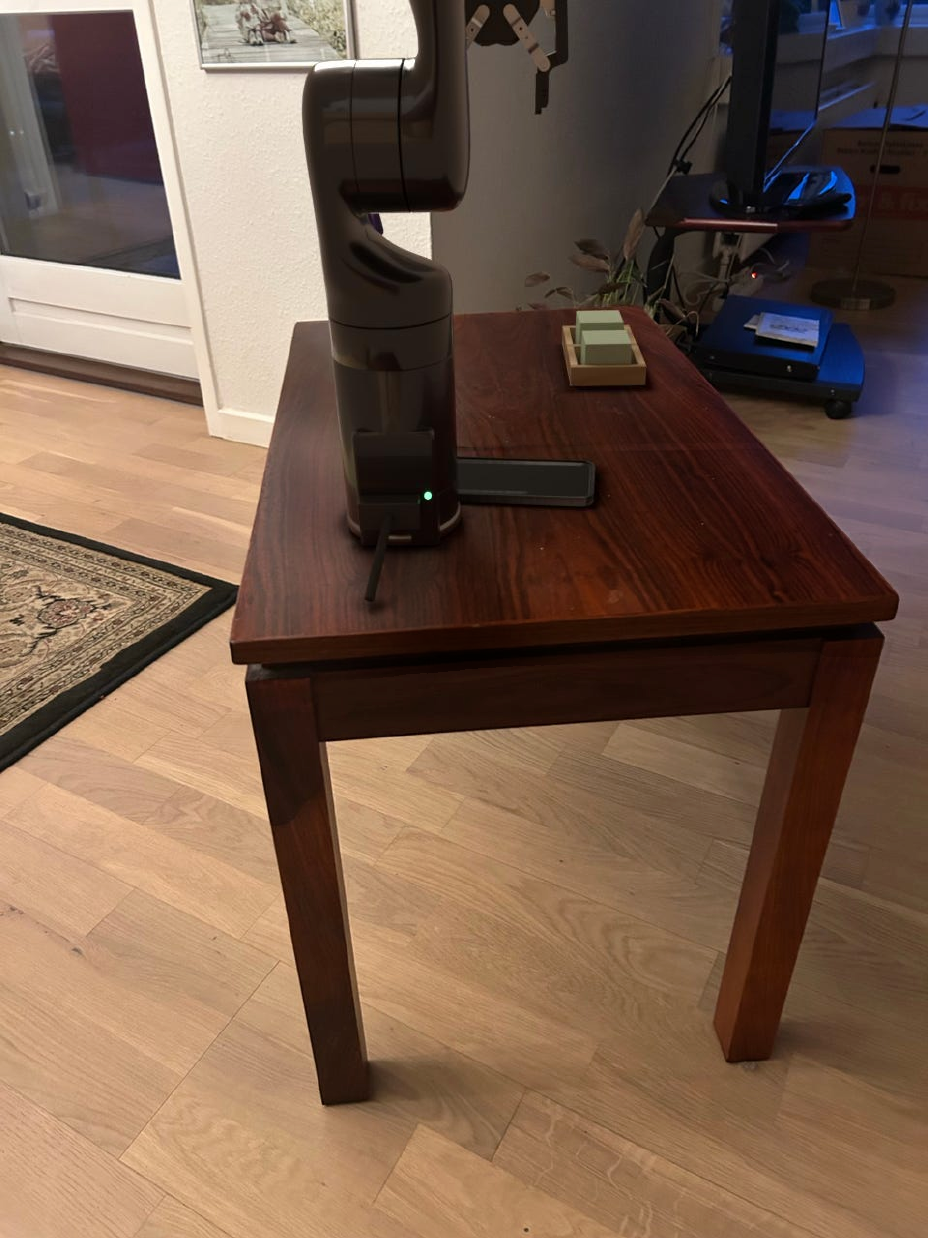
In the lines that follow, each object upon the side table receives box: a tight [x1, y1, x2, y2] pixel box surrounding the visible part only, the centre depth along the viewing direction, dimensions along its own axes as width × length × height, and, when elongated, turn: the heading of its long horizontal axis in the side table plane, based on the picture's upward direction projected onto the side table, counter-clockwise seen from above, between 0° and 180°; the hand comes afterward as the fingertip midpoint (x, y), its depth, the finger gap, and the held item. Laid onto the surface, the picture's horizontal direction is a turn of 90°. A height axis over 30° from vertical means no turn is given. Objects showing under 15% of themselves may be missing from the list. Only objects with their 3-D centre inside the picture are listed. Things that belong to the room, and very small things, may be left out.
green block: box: [575, 309, 625, 344], centre depth 111 cm, size 5×5×4 cm
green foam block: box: [580, 330, 632, 365], centre depth 105 cm, size 5×5×4 cm
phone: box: [457, 455, 596, 507], centre depth 84 cm, size 8×1×15 cm
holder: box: [561, 324, 647, 387], centre depth 109 cm, size 15×8×3 cm, turn 179°
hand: (496, 114), depth 98 cm, fingers open, 8 cm apart
